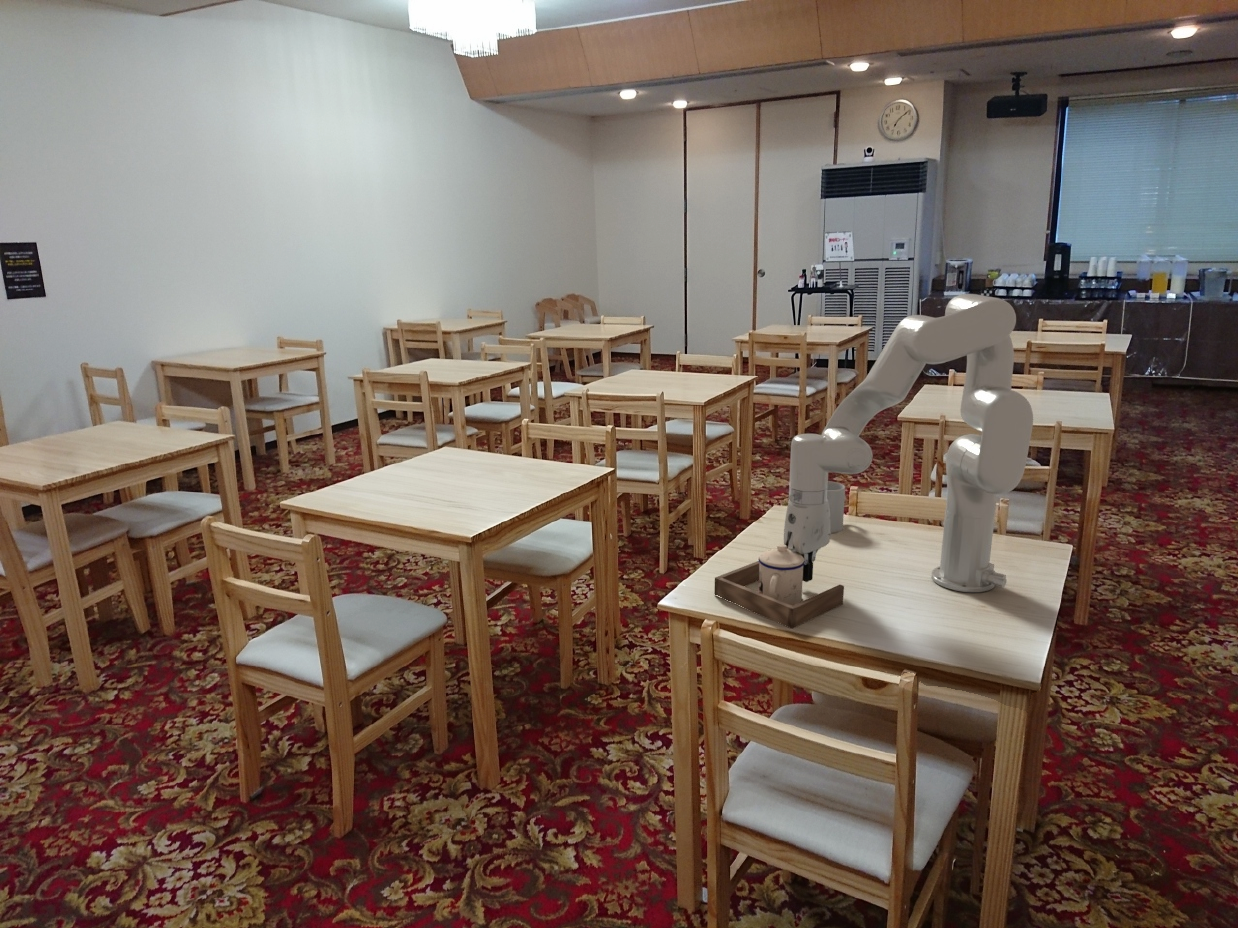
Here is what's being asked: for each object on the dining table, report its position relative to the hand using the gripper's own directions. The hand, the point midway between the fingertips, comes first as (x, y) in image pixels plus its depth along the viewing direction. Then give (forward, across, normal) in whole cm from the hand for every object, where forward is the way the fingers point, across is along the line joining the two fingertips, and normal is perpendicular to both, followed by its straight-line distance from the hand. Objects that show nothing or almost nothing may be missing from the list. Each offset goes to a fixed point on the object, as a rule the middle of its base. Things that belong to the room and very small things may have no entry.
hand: (803, 579), depth 177 cm
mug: (+2, +36, +20) cm, 41 cm away
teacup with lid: (+2, -9, -1) cm, 9 cm away
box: (+2, -8, 0) cm, 9 cm away
